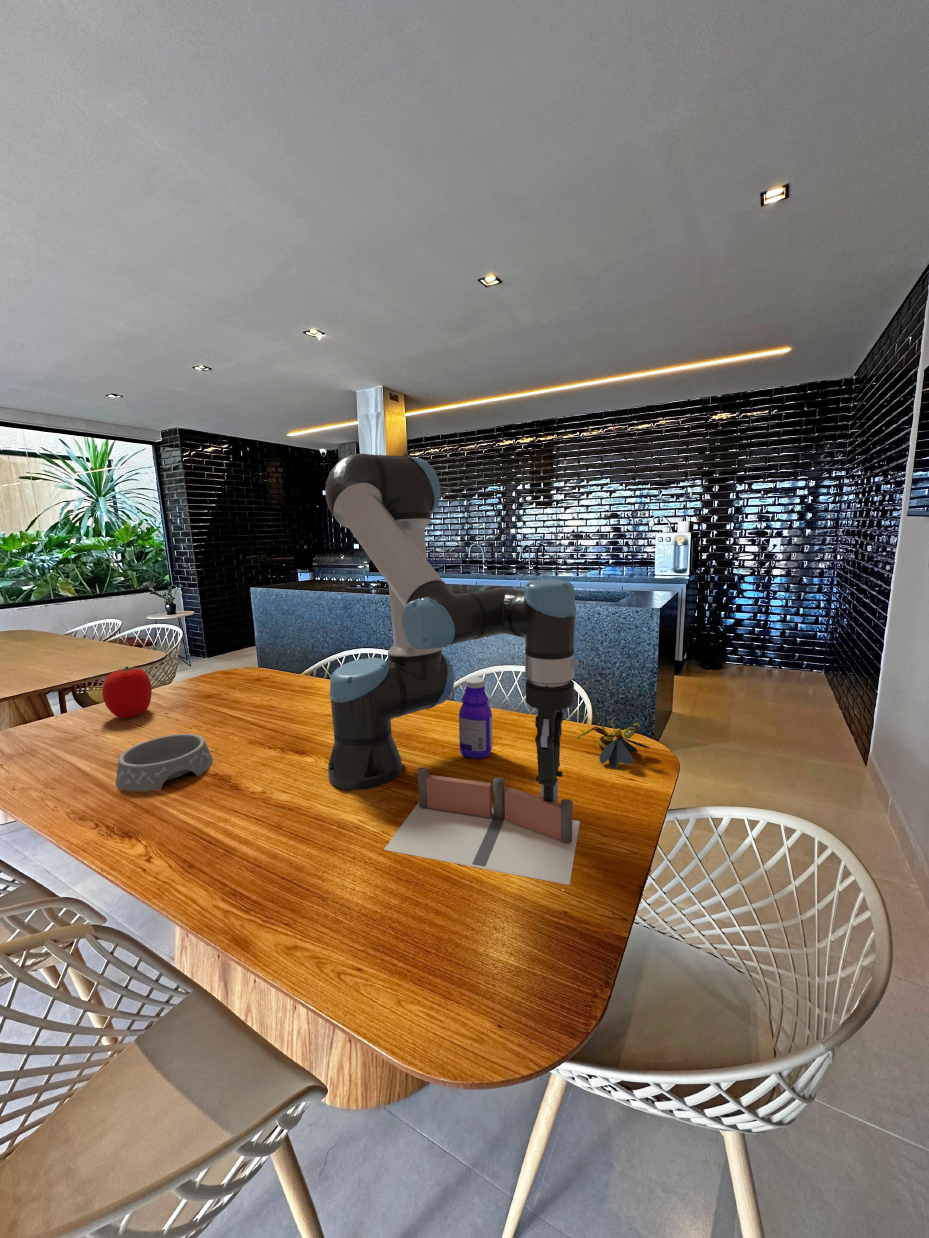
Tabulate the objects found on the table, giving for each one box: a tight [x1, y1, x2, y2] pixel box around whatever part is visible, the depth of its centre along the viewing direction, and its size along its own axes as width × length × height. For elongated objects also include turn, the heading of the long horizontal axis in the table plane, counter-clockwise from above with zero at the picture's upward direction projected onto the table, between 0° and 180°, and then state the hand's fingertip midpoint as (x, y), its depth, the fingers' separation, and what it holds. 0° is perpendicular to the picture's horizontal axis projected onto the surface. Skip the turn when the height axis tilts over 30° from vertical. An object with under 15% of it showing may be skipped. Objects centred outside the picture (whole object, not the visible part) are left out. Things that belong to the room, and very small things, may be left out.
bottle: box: [458, 676, 493, 760], centre depth 111 cm, size 7×6×17 cm
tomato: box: [102, 665, 153, 719], centre depth 141 cm, size 13×11×14 cm
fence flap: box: [505, 786, 574, 843], centre depth 83 cm, size 12×2×7 cm, turn 55°
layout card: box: [383, 802, 581, 886], centre depth 83 cm, size 29×16×1 cm, turn 72°
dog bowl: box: [115, 733, 214, 793], centre depth 109 cm, size 17×18×5 cm
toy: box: [574, 717, 651, 770], centre depth 110 cm, size 12×8×15 cm
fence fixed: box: [417, 766, 506, 820], centre depth 90 cm, size 16×2×7 cm, turn 72°
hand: (549, 814), depth 84 cm, fingers closed
